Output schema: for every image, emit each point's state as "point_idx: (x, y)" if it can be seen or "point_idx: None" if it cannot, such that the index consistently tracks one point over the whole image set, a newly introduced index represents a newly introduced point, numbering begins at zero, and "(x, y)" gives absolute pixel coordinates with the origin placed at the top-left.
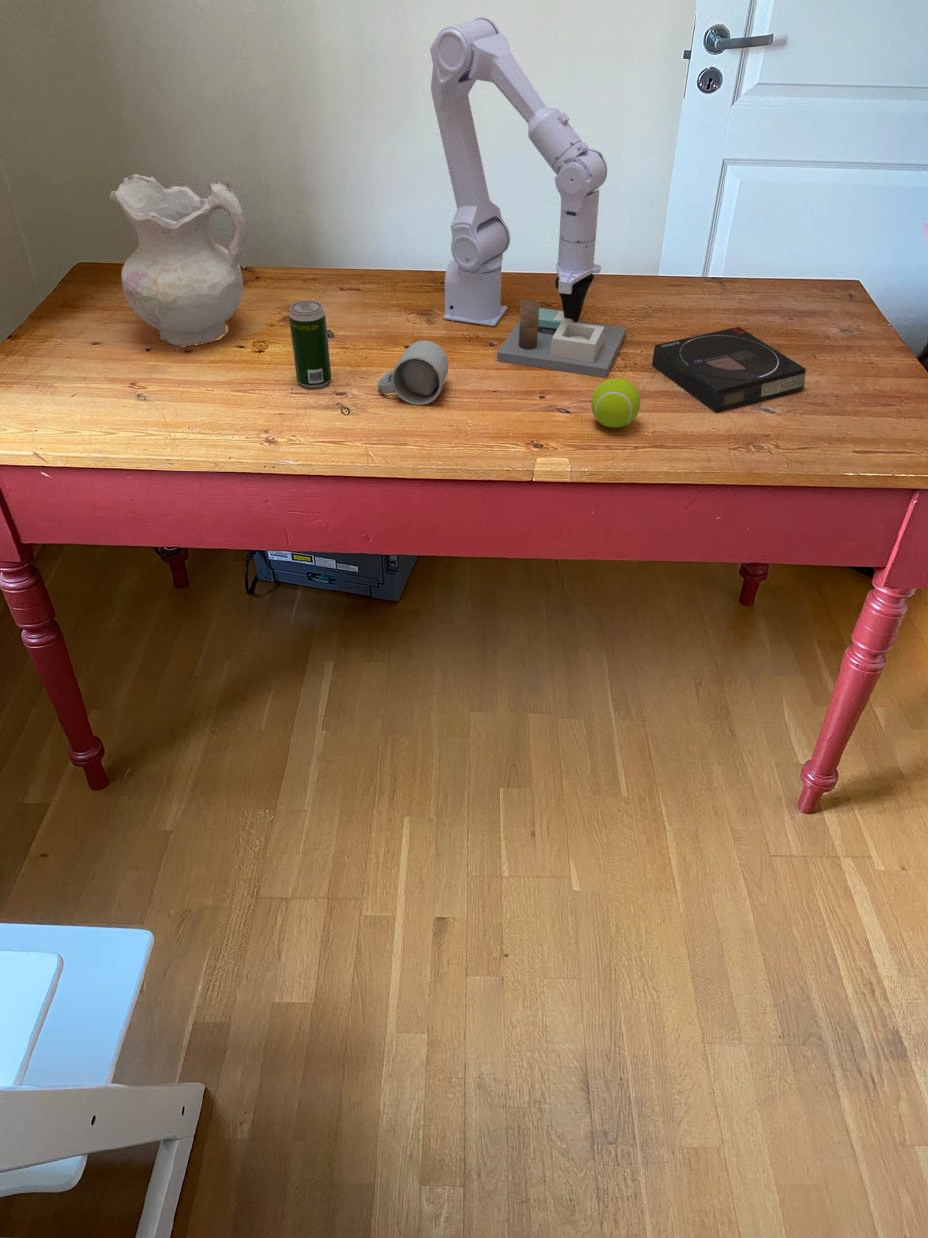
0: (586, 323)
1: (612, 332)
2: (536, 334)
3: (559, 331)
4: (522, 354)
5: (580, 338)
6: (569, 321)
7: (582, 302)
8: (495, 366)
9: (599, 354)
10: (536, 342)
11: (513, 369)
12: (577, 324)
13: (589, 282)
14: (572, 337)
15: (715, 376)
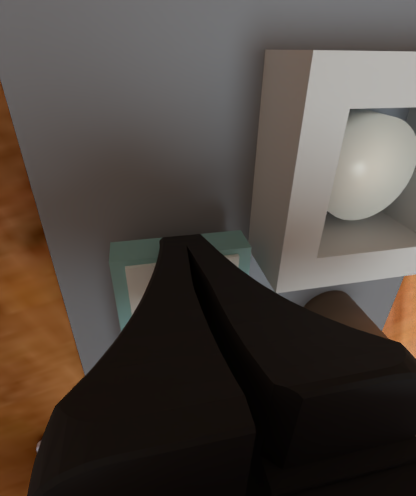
0: (55, 197)
1: (95, 16)
2: (366, 322)
3: (388, 265)
4: (384, 303)
5: (343, 167)
6: (237, 265)
7: (229, 284)
8: (384, 327)
9: (381, 39)
10: (343, 301)
11: (400, 290)
12: (307, 219)
13: (313, 402)
14: (335, 203)
15: None
